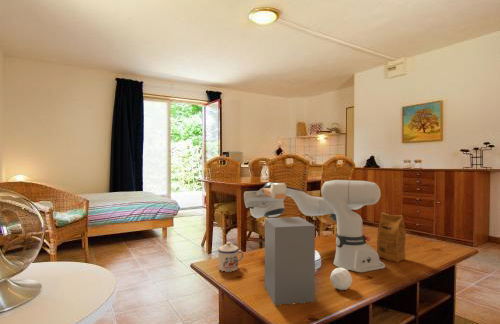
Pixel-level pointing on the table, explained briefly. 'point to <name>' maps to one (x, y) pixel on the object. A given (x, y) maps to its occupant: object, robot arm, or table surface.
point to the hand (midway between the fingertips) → (267, 190)
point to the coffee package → (391, 237)
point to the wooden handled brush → (276, 191)
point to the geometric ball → (341, 278)
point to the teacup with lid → (229, 257)
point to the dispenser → (290, 260)
